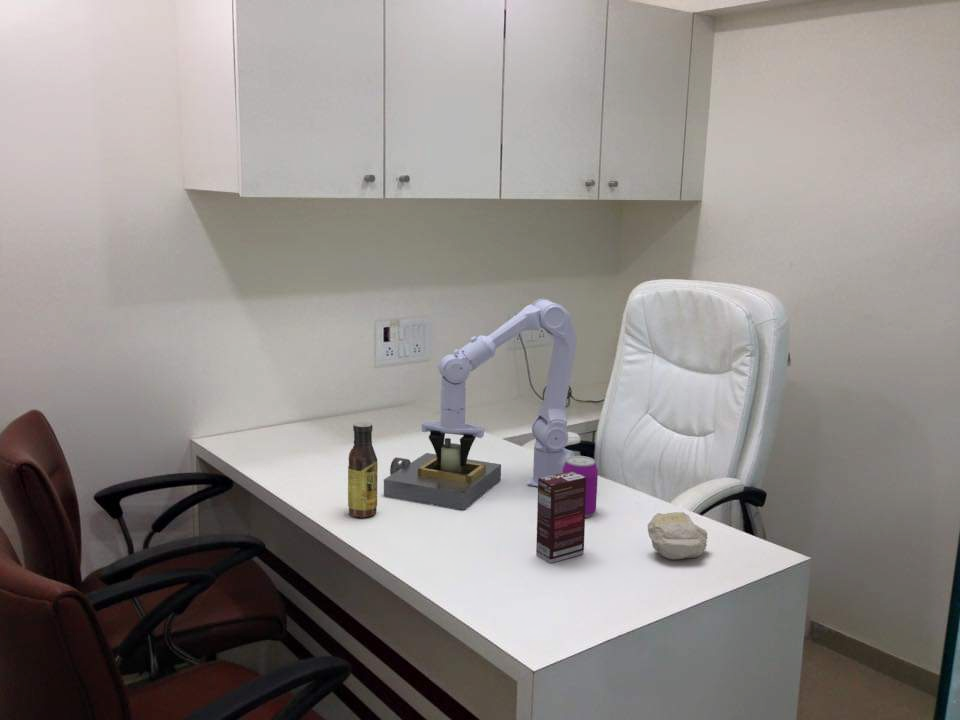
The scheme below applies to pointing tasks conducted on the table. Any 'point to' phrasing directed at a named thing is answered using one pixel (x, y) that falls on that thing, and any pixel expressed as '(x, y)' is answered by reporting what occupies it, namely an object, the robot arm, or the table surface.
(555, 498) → the supplement box
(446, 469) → the spout can
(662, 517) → the beige lumpy stone
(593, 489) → the beverage can
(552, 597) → the table surface
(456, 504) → the grey panel with frame
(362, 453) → the sauce bottle
